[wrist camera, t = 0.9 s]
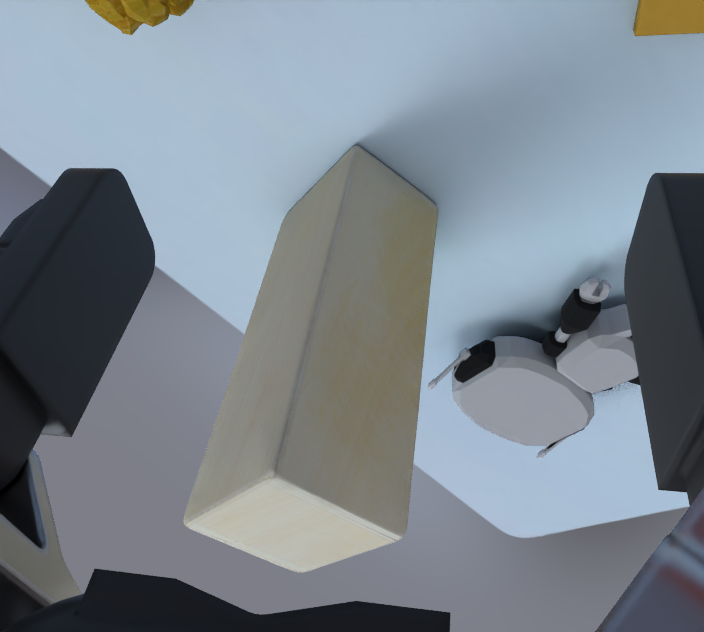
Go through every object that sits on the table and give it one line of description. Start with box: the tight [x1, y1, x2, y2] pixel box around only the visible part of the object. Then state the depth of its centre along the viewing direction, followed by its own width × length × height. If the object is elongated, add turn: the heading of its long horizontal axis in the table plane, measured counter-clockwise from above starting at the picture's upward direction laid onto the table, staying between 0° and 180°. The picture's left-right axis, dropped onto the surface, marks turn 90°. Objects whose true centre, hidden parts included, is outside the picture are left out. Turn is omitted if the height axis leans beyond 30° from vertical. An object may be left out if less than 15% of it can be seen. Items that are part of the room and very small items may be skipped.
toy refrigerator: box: [184, 145, 438, 573], centre depth 34 cm, size 8×7×21 cm
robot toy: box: [427, 278, 640, 458], centre depth 46 cm, size 12×4×15 cm
